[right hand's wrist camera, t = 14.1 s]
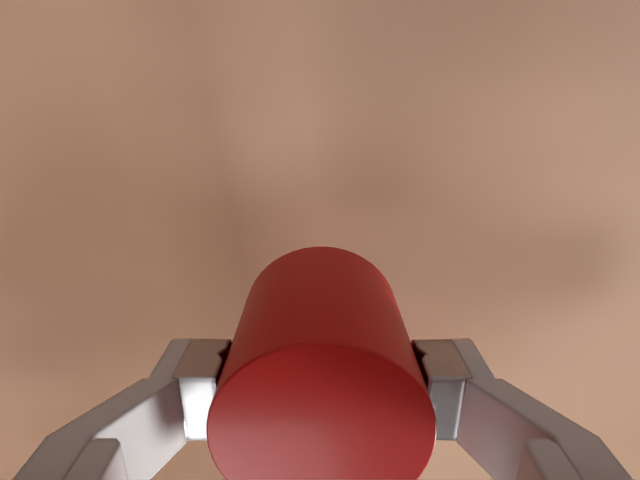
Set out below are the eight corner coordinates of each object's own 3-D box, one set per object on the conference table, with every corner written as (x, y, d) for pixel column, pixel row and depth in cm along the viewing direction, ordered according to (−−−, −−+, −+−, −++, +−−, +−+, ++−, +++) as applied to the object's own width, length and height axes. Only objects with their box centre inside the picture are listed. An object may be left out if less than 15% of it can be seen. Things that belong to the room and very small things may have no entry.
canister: (316, 399, 14) (314, 548, 9) (215, 311, 13) (157, 434, 8) (426, 319, 13) (483, 445, 8) (326, 214, 11) (330, 295, 7)
